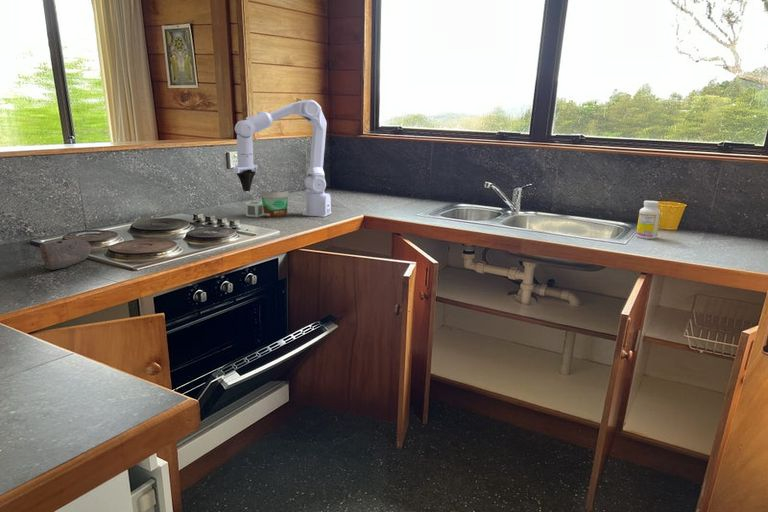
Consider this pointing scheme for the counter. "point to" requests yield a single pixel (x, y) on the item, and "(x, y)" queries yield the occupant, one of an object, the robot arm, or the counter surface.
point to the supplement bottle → (648, 220)
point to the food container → (275, 204)
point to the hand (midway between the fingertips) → (246, 190)
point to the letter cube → (254, 209)
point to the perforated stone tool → (64, 253)
